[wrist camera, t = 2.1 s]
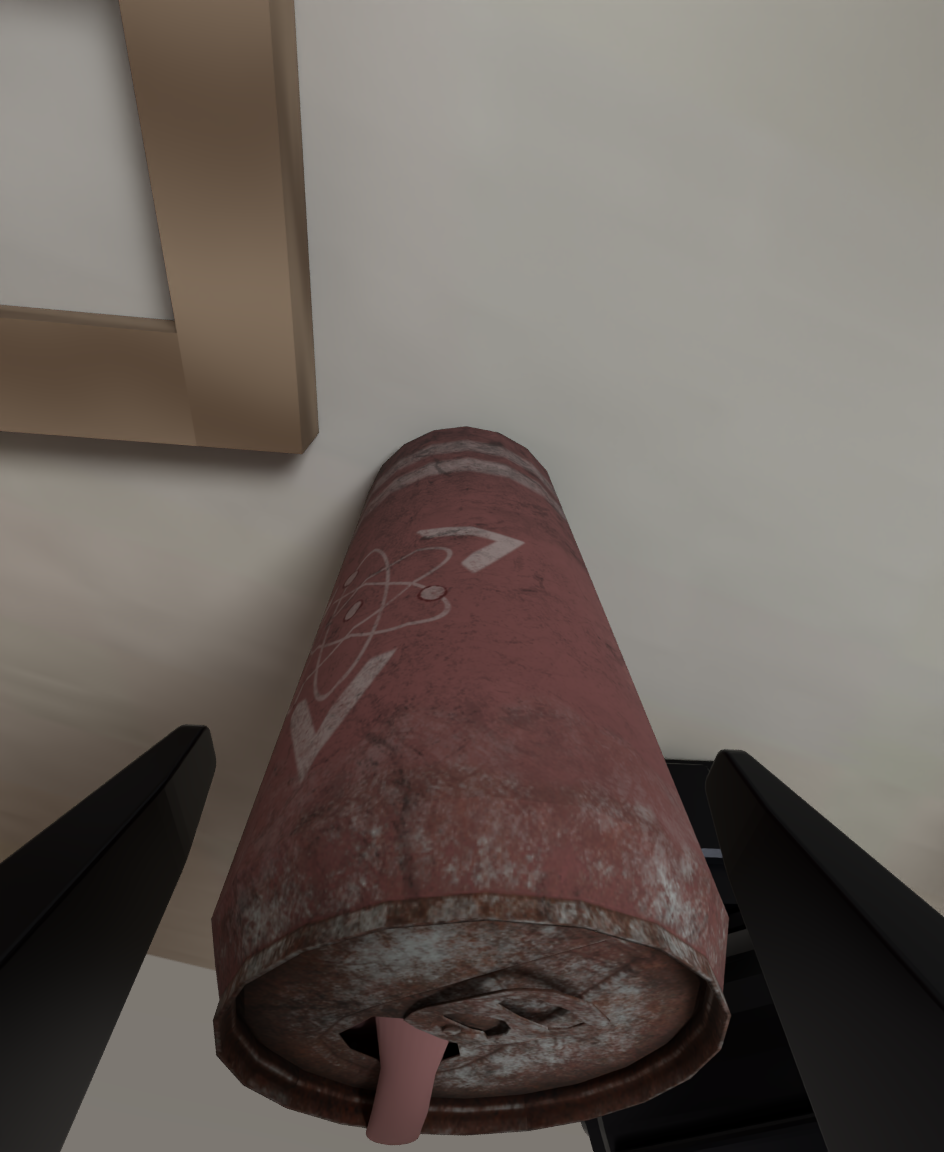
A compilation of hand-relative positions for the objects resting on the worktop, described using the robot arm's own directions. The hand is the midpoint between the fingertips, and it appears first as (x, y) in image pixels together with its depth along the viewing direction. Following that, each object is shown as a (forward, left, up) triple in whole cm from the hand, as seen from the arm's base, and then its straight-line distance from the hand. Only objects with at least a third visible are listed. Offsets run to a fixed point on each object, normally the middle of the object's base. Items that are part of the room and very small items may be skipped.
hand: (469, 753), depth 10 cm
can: (0, 0, -10) cm, 10 cm away
